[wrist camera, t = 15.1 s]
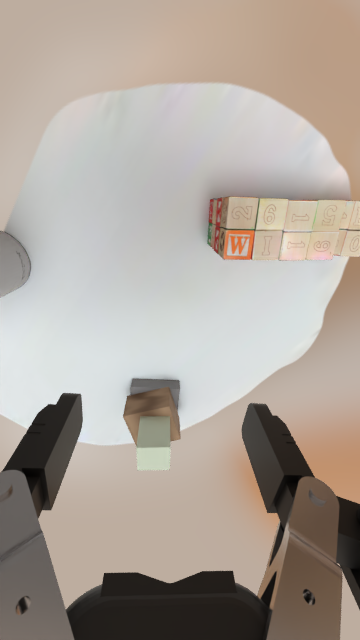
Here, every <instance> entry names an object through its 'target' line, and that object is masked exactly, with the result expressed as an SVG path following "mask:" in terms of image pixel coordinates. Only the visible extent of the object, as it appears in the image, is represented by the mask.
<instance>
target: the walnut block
mask: <svg viewBox="0 0 360 640" xmlns="http://www.w3.org/2000/svg"><path fill="white" fill-rule="evenodd" d="M140 416H170V441H174V440H179V439H180V424H179V416H178V413H177V410H176V407H175V403H174V400H173V397H172V394H171V391H170V388H169V387H165V388H160V389H156V390H151V391H147V392H142V393H138V394H134V395H129V396H127V400H126V405H125V409H124V414H123V417H124V420H125V422H126V424H127V426H128V429H129V431H130V433H131V435H132V437H133V440H134V442H135V444H136V446H137V438H138V431H139V423H140Z"/></svg>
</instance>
